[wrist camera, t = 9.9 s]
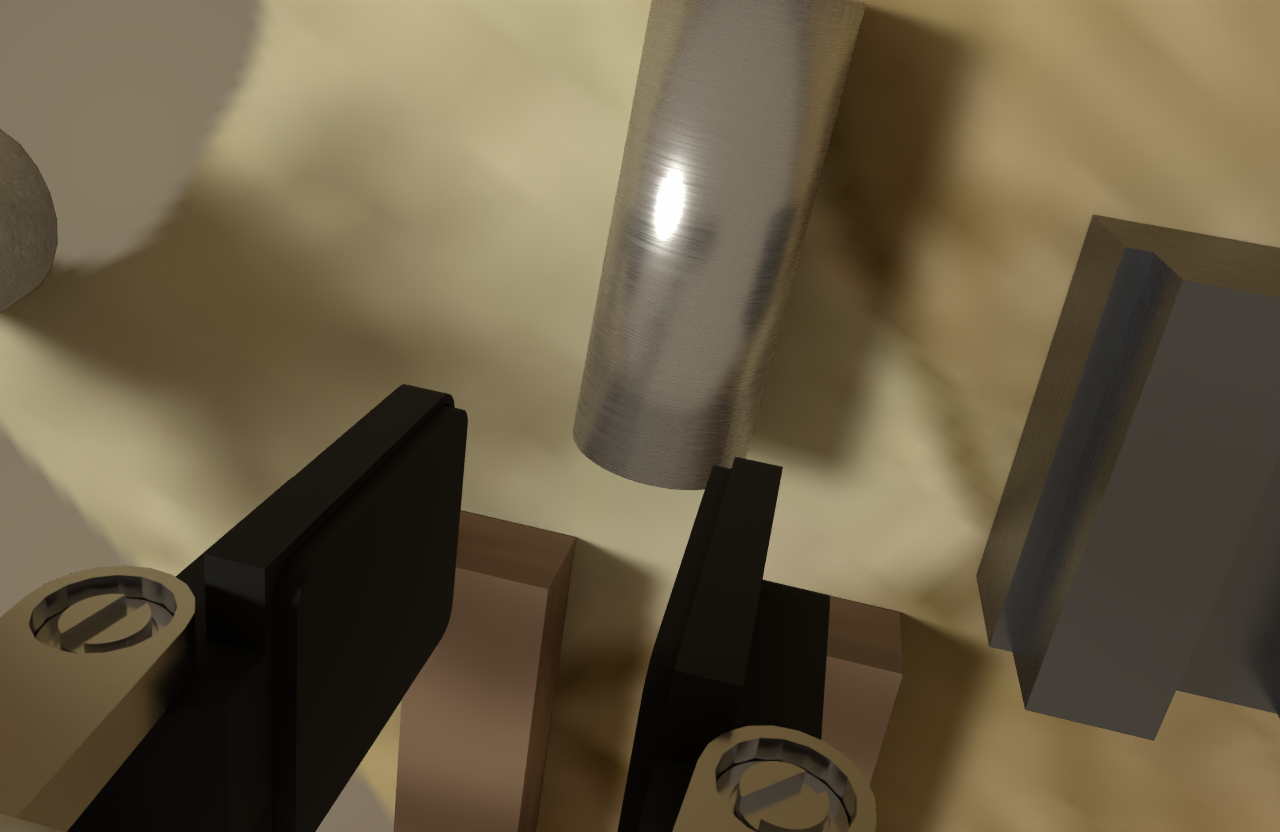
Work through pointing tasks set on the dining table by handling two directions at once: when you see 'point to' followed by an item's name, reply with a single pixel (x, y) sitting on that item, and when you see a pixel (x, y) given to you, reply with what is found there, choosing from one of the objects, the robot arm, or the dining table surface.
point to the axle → (708, 229)
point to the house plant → (23, 224)
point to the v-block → (1147, 487)
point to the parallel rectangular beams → (526, 678)
